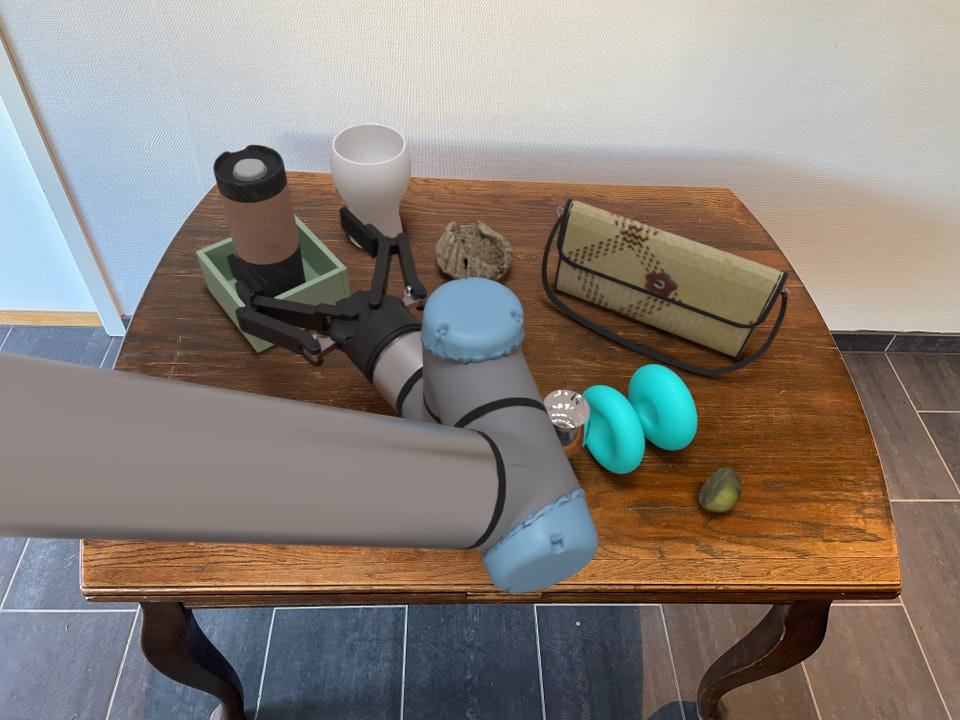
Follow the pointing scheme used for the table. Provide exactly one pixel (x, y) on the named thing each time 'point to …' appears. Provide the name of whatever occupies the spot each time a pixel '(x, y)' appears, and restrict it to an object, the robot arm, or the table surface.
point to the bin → (321, 287)
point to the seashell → (473, 252)
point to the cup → (372, 174)
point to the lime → (721, 490)
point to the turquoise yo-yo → (639, 418)
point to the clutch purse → (663, 283)
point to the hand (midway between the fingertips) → (289, 239)
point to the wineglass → (569, 419)
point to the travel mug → (261, 216)
